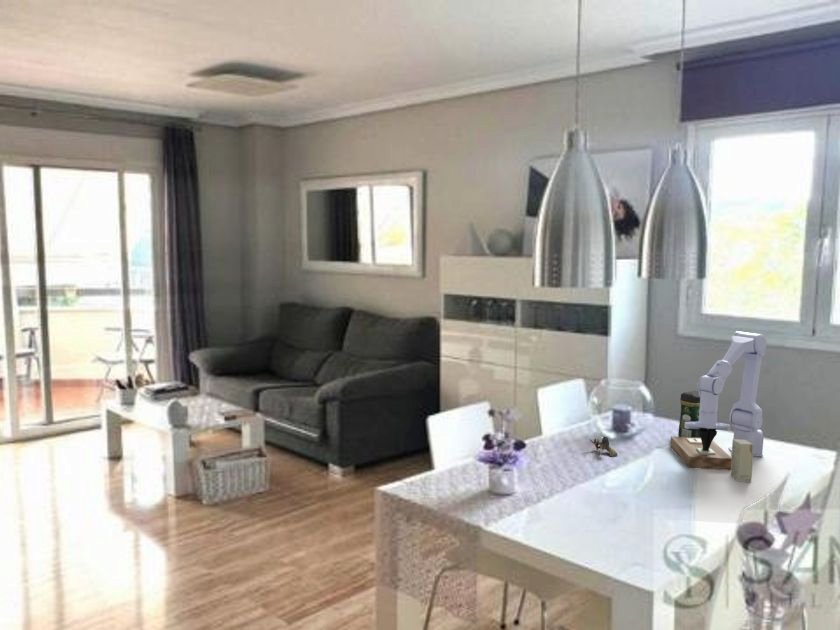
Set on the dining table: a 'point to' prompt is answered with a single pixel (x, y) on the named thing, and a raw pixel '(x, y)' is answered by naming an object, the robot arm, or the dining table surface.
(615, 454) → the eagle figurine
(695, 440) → the cream button
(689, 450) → the board
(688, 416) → the coffee jar
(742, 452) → the skincare box
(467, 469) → the dining table surface
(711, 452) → the sage button
